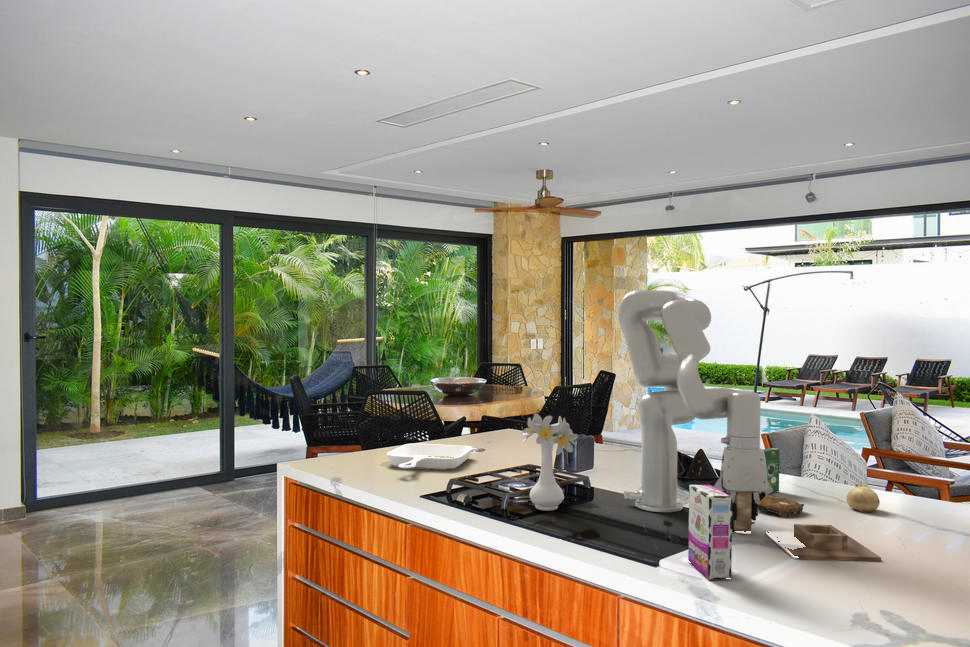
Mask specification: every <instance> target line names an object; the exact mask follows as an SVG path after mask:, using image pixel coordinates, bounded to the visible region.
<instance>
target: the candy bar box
mask: <svg viewBox="0 0 970 647" xmlns="http://www.w3.org/2000/svg"><path fill="white" fill-rule="evenodd" d="M688 486H689V487H688V488H689V489H688V490H689V494H688V496H689V497H688V544H687V546H688V552H687V554H688V556H687V557H688V559H687V561H688V560H689V561H690V562H691V564H692V565H693V566H694V567H693V566H692V565H691V564H690V565H691V566H692V567H693V568H695V569H696V570H697V571H698V572H699V573H700V574H702V575H703V576H704V577H705V578H706V579H707V580H709V581H722V580H721V579H726V578H731V579H732V562H733V561H732V558H733V556H732V555H733V554H732V551H733V549H732V545H733V544H732V543H733V541H732V540H733V520H732V499H733V497H732V496H730V495H728V494H726V493H724V492H723V491H721V490H719V489H717V488H715V487H713V486H714V485H711V484H689V485H688Z"/></svg>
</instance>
